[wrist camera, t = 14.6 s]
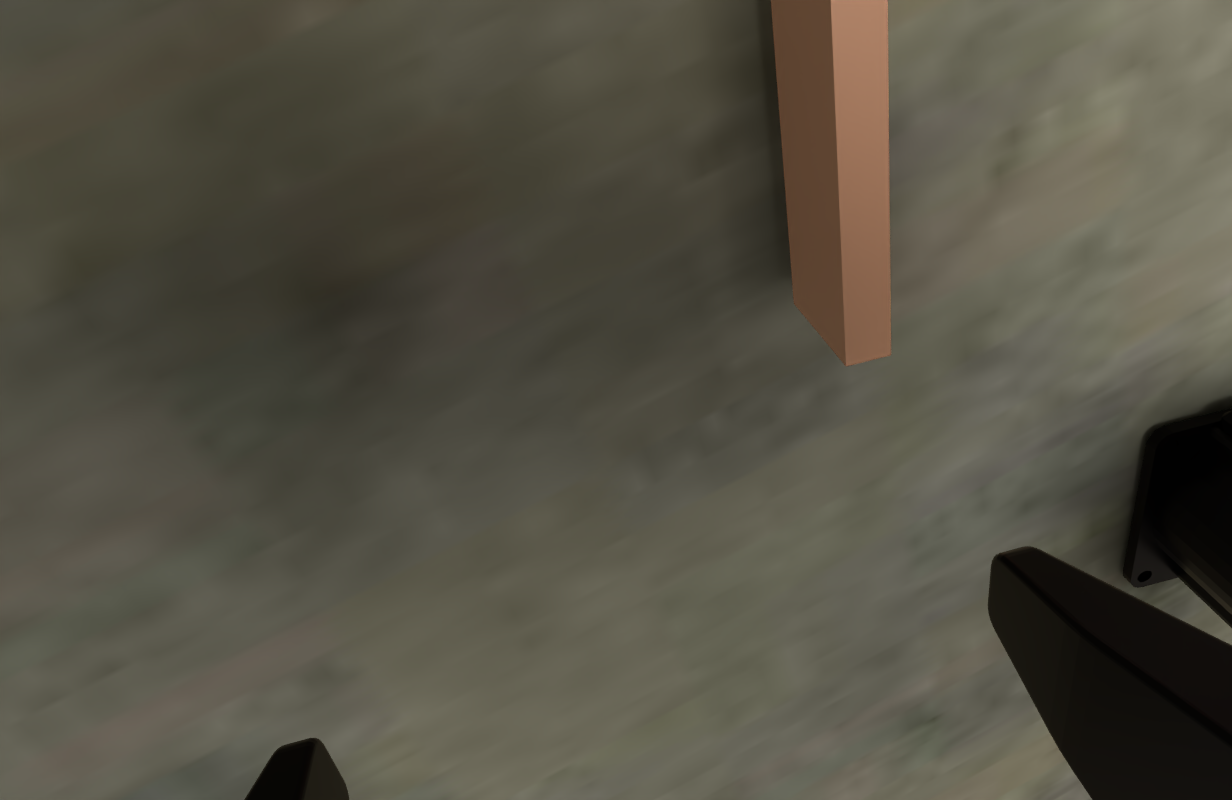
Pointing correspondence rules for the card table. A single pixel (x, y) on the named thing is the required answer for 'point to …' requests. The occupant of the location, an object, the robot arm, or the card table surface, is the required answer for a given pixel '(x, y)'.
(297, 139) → the card table surface
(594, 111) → the card table surface
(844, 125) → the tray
